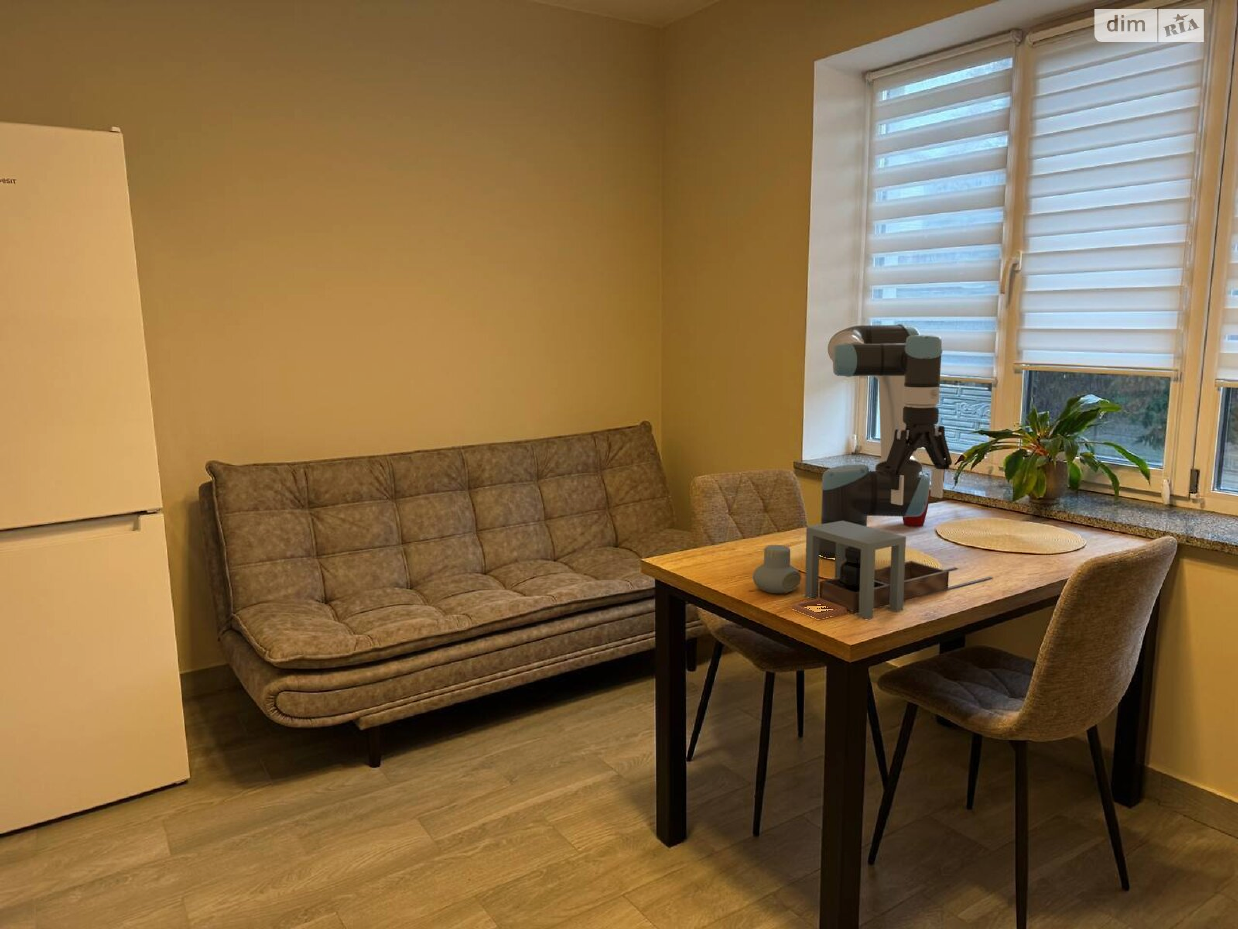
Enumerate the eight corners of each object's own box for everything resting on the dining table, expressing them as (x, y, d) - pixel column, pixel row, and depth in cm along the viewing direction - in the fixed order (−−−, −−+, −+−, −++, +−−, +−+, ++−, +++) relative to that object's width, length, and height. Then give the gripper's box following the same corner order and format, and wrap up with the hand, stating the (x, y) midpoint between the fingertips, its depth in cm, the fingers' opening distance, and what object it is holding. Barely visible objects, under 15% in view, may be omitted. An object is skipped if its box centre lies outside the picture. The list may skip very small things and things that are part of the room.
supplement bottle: (869, 609, 185) (871, 554, 183) (837, 606, 187) (838, 552, 185) (871, 599, 191) (873, 546, 189) (839, 596, 194) (841, 544, 192)
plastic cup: (890, 520, 265) (892, 481, 263) (927, 521, 264) (929, 482, 262) (897, 528, 255) (898, 488, 253) (935, 529, 253) (937, 489, 251)
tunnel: (942, 564, 217) (945, 502, 215) (1006, 582, 202) (1010, 515, 199) (805, 596, 194) (806, 527, 191) (866, 619, 179) (868, 544, 176)
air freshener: (776, 581, 206) (777, 540, 204) (805, 589, 200) (806, 546, 198) (747, 591, 198) (747, 549, 197) (776, 599, 192) (777, 555, 191)
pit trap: (791, 609, 185) (791, 604, 185) (819, 603, 189) (819, 597, 189) (818, 620, 179) (818, 615, 178) (846, 613, 183) (846, 607, 182)
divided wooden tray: (910, 577, 206) (911, 560, 205) (948, 588, 197) (948, 571, 196) (819, 598, 191) (819, 581, 190) (855, 612, 182) (855, 593, 181)
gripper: (896, 410, 182) (892, 510, 186) (971, 403, 195) (966, 496, 199) (868, 408, 189) (865, 504, 192) (943, 401, 201) (939, 491, 205)
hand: (917, 500), depth 195 cm, fingers open, 12 cm apart
